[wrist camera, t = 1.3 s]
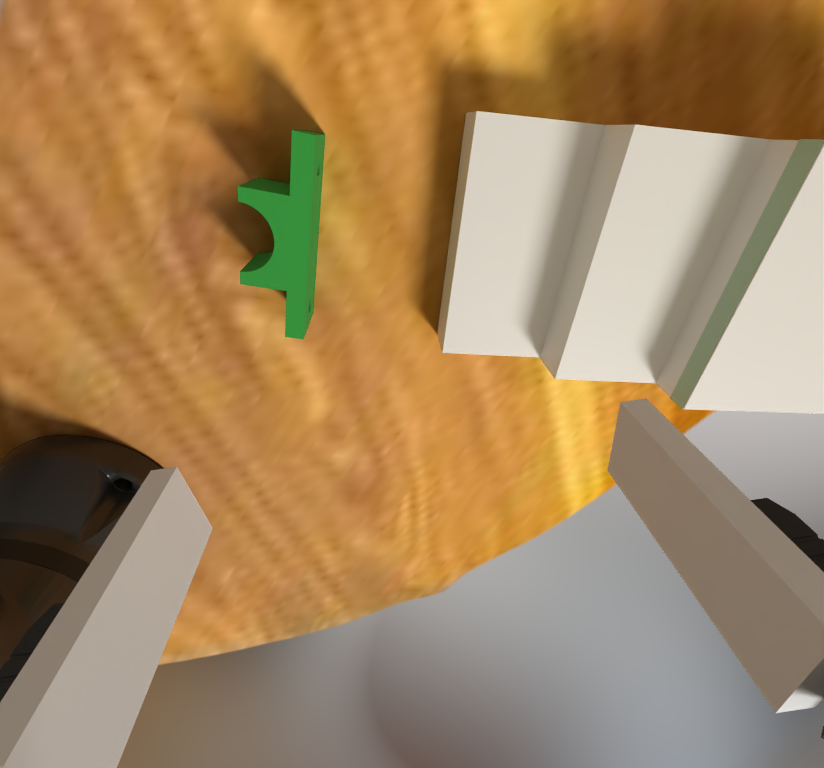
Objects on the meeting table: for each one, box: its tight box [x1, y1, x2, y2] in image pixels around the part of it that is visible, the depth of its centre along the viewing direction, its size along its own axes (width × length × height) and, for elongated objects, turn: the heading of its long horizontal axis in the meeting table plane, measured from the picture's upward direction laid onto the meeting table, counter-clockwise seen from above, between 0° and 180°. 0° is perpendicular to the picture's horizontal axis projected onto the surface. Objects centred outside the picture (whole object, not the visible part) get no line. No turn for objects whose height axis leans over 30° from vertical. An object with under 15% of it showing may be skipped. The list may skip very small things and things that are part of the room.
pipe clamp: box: [238, 130, 325, 339], centre depth 24 cm, size 11×4×5 cm, turn 169°
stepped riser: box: [437, 111, 824, 414], centre depth 25 cm, size 24×14×9 cm, turn 85°
